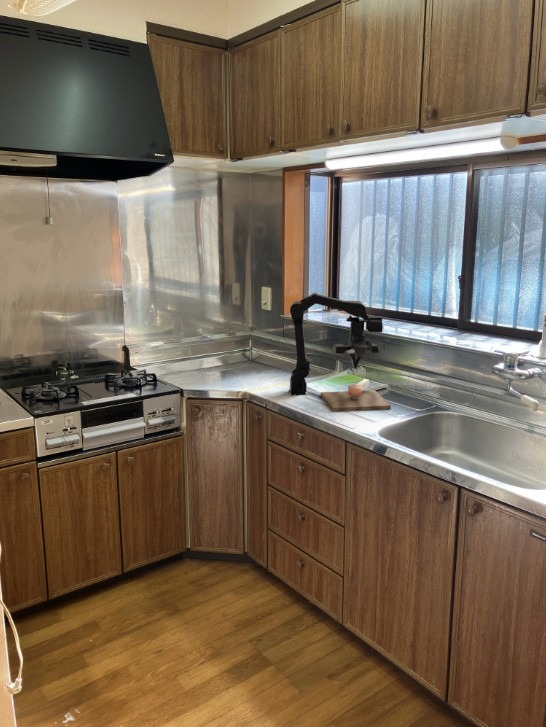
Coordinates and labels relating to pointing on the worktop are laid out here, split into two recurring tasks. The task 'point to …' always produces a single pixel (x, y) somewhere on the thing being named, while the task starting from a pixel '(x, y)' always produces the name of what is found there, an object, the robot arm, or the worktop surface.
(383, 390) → the worktop surface
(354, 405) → the post board
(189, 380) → the worktop surface
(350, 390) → the orange and white spoon
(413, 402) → the worktop surface
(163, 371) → the worktop surface
